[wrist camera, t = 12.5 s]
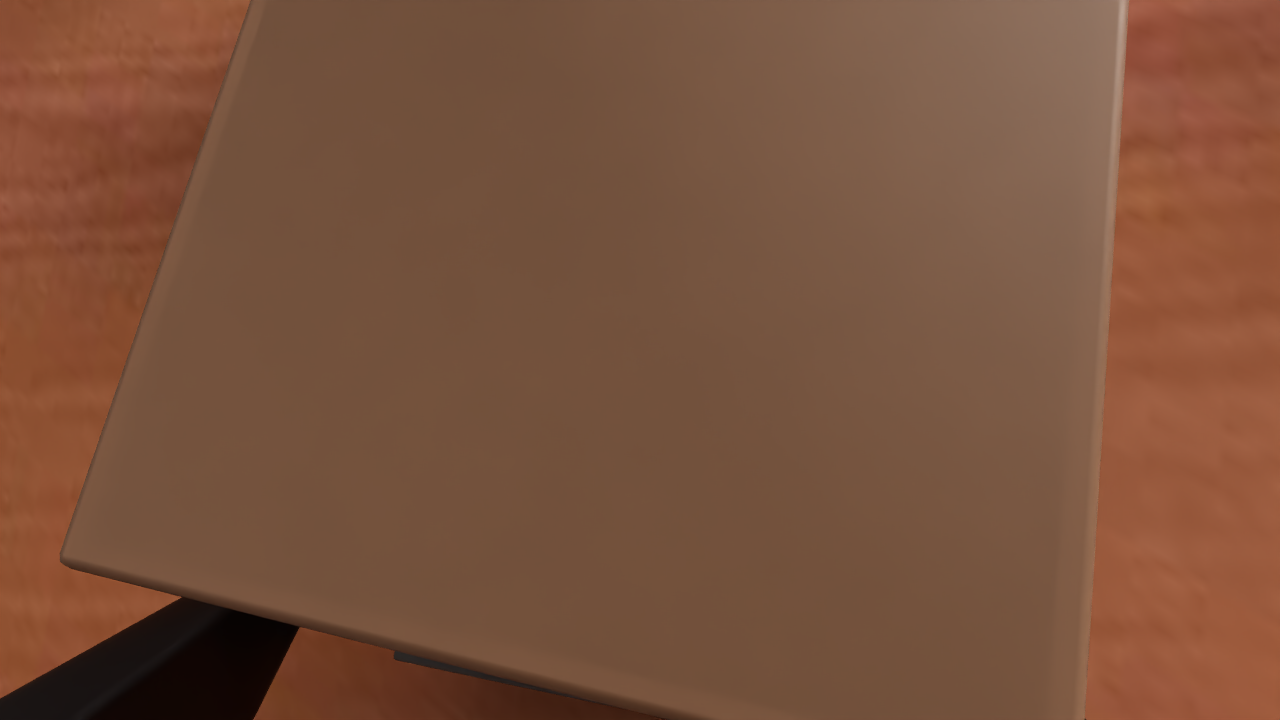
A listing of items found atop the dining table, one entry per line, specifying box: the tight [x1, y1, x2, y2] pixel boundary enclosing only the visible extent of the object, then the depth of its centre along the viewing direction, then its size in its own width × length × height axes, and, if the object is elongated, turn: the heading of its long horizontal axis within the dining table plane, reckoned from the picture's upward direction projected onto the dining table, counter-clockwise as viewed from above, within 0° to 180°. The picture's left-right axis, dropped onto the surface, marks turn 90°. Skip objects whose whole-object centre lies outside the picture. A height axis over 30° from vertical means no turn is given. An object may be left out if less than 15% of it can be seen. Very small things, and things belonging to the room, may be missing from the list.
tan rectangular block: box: [60, 0, 1129, 720], centre depth 10 cm, size 5×5×13 cm
